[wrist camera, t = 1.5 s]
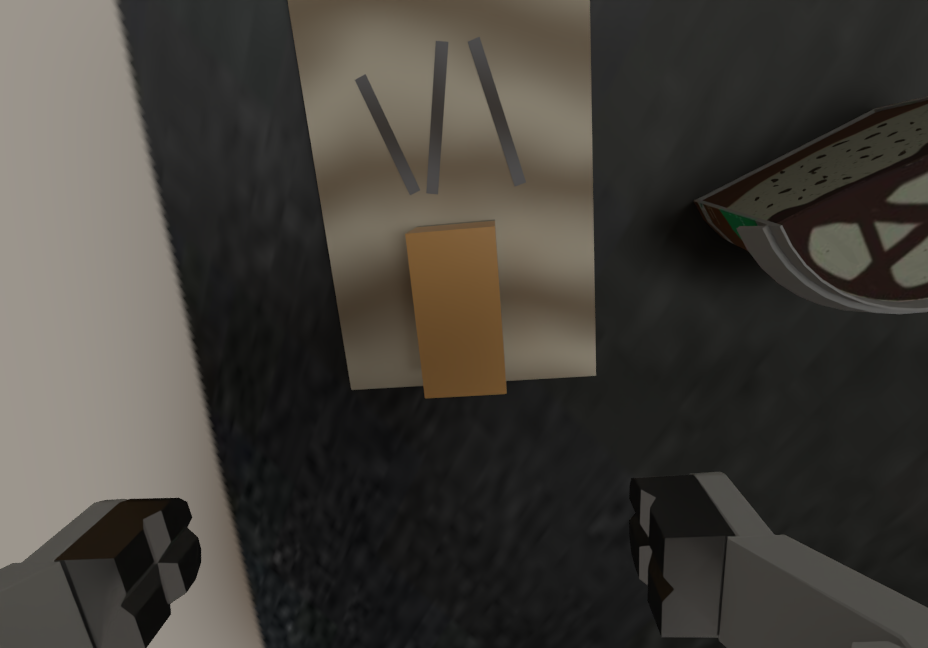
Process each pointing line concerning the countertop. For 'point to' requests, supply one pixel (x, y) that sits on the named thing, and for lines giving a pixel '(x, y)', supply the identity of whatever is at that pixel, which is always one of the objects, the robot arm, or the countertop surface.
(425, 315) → the block
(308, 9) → the birch board
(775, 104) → the countertop surface
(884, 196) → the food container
